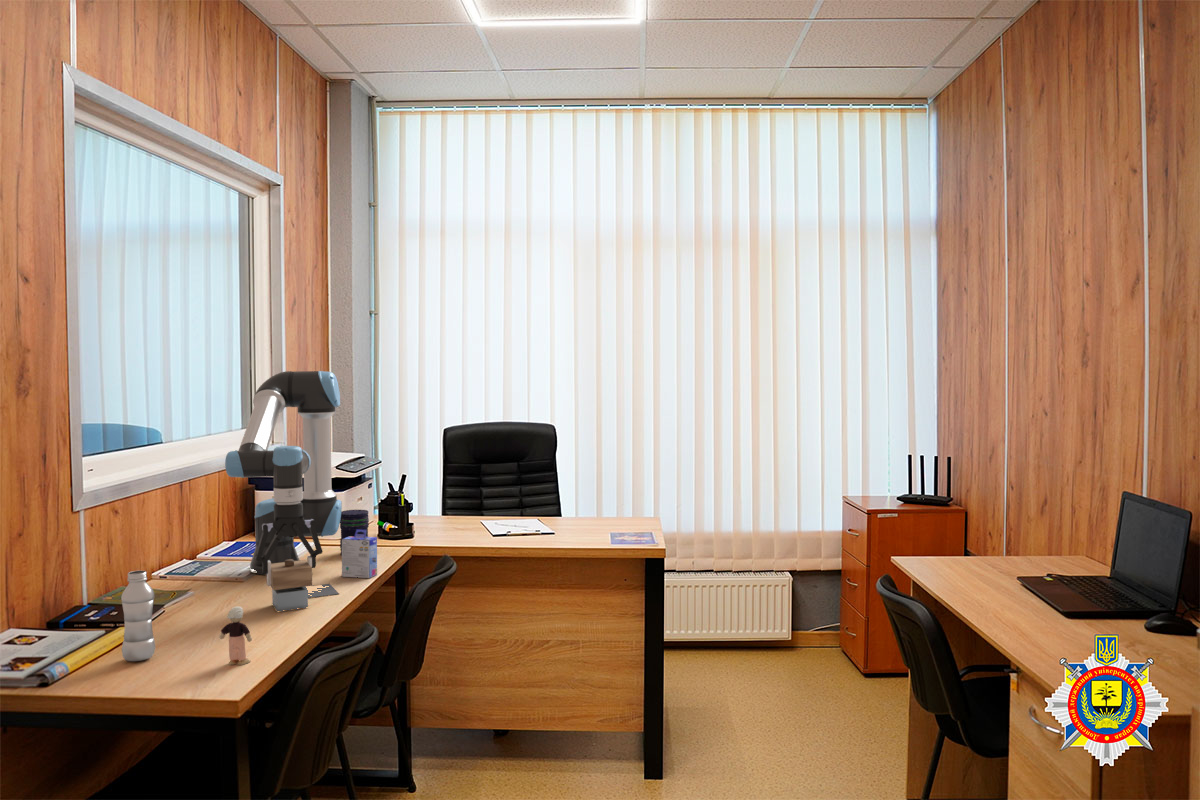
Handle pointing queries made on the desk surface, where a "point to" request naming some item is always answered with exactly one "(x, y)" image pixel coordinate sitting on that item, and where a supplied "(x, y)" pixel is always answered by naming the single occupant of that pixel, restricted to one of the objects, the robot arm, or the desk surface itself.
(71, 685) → the desk surface
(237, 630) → the grandmother figurine
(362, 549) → the ink cartridge box
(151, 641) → the plastic bottle
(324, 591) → the mat
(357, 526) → the storage jar
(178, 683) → the desk surface
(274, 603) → the grey cubby shelf
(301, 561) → the lid
